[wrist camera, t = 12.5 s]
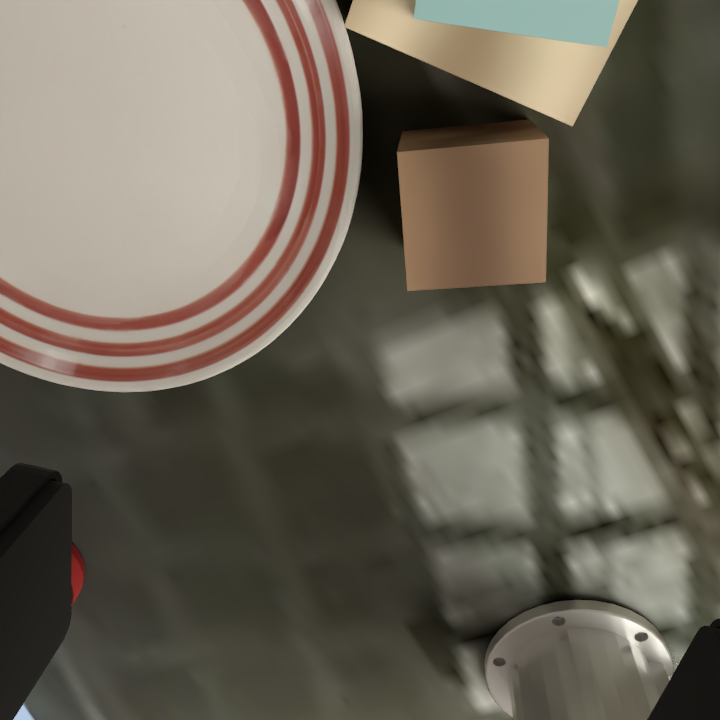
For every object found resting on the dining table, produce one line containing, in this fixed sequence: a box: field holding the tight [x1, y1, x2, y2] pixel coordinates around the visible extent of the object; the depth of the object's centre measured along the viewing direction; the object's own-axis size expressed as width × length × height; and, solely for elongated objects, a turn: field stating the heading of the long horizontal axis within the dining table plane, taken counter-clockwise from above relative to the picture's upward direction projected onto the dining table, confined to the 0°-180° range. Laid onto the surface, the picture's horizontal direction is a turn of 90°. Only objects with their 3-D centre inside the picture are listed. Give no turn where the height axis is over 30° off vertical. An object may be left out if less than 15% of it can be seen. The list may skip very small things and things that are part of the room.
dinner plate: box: [0, 0, 363, 392], centre depth 32 cm, size 28×27×3 cm
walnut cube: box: [397, 119, 549, 291], centre depth 31 cm, size 6×6×6 cm
